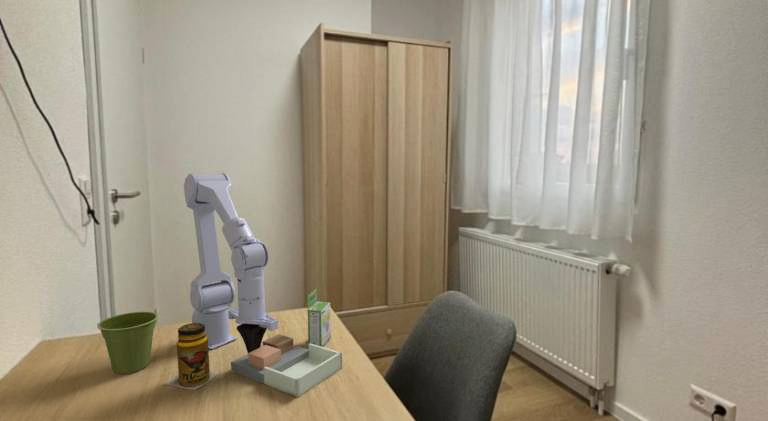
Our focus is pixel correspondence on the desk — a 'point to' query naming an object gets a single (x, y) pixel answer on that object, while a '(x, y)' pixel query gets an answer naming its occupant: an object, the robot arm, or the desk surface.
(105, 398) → the desk surface
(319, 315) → the ink box
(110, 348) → the plant pot
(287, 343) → the walnut tile
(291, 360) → the slate board
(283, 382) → the tray
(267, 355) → the terracotta tile
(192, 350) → the condiment
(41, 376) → the desk surface
